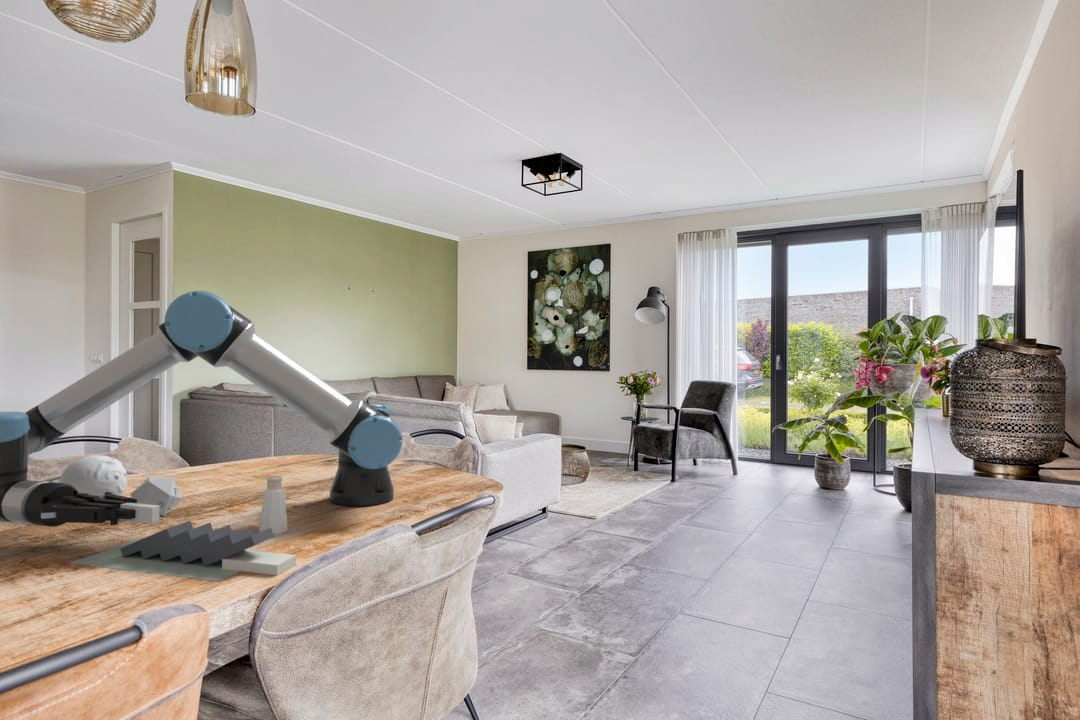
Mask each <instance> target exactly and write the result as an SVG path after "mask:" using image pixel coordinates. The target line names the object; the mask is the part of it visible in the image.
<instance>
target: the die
mask: <svg viewBox="0 0 1080 720" xmlns="http://www.w3.org/2000/svg"><path fill="white" fill-rule="evenodd" d="M130 496H131V498H133V499H137V503H138V504H149V505H160V512H159V517H165V516H166V515H167V514H168V513H169V512H170V511H171V510H172V509H174V507H175V506H176V505H177V504H178V503H179V502H180V501H181V500H182V499H183V496H182V494H181V492H180V490H179V488H178V485H177V483H176V481H175V478H174V476H172V477H170V476H169V477H168V476H165V477H164V476H149V477H147V478H146V480H144V481H143V482H142V483H141V484H139V486H137V488H136V489H134V490H133V491H132V492H131V493H130Z"/></svg>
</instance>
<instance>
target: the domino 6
mask: <svg viewBox="0 0 1080 720" xmlns="http://www.w3.org/2000/svg"><path fill="white" fill-rule="evenodd" d="M253 550H254V549H249V550H243V551H240V552H238V553H236V554H233V555H231V556H228V557H226V558H223V559H222V569H227V570H236V571H240V572H244V573H245V572H246V573H253V574H262V575H263V574H264V575H269V576H270V575H272V576H279V575H281V574H282V573H284V572H286V571H288V570H290V569H291V568H293V567H295V566H297V555H296V554H291V553H290V554H288V553H280V552H276V553H271V552H272V551H267V552H262V551H263V550H258V551H253Z"/></svg>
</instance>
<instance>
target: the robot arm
mask: <svg viewBox="0 0 1080 720" xmlns="http://www.w3.org/2000/svg"><path fill="white" fill-rule="evenodd" d="M197 357H199V358H201V359H202V360H204V361H205V362H206V363H208V364H210V365H211V366H213V367H214V368H223V367H228V368H229V369H231V370H232V371H234V372H236V374H238V375H240V376H242V377H243V378H244V379H246V380H248V381H249V382H250V383H252V384H253V385H255V386H257V387H258V388H259V389H261V390H262V391H264V392H265V393H267V394H268V395H270V396H271V397H273V398H274V399H276V400H277V401H279V402H280V403H282V404H283V405H285V406H286V407H288V408H289V409H291V410H292V411H294V412H295V413H296V414H298V415H299V416H301V417H303V418H304V419H305V420H307V421H309V422H310V423H311V424H313V425H315V426H316V427H318V428H319V429H320V430H322V431H324V432H325V434H326V438H327V442H328V443H329V444H330V445H331V446H332V447H335V448H336V449H338V455H337V456H338V461H337V470H336V473H335V475H334V478H333V481H332V484H331V486H330V490H329V501H330V502H331V503H333V504H337V505H341V506H354V507H355V506H357V507H358V506H373V505H379V504H384V503H385V504H386V503H387V502H390V501H392V500H393V499H394V496H395V495H394V494H395V489H394V486H393V485H394V484H393V480H392V478H391V475H390V471H389V468H388V467H389V465H390V464H392V463H393V462H394V461H395V460H396V459H397V457H398V456H399V454H400V453H401V450H402V447H403V435H402V430H401V429H400V427H399V425H398V423H397V422H396V421H395V420H394V419H393V418H390V416H391V415H390V409H389V407H388V405H386V404H369V403H367V402H366V401H364V400H363V399H361V398H359V399H353V400H352V399H350V398H349V397H347V396H346V395H344V394H342V393H341V392H340V391H338V390H337V389H336V388H334V387H333V386H331V385H329V384H328V383H327V382H325V380H322V378H320V377H318V376H317V375H316V374H314V373H312V372H311V371H309V370H308V369H307V368H306V367H305V366H303V365H302V364H301V363H298V362H297V361H295V360H294V359H292V357H290V356H289V355H287V354H286V353H284V352H283V351H282V350H280V349H278V348H277V347H276V346H274V345H273V344H271V343H270V342H268V340H266V339H264V338H263V337H261V336H260V335H259V334H257V332H256V330H255V323H254V322H253V321H251V320H250V319H249V318H248V317H246V316H245V315H243V314H242V313H241V312H239V311H238V310H236V309H234V308H233V307H232V306H230V305H229V304H228V303H227V302H226V300H224V299H223V298H222V297H221V296H218V295H216V294H215V293H213V292H209V291H206V290H205V291H204V290H194V291H189V292H185V293H183V294H180V295H179V296H178V297H176V298H175V299H174V300H173V301H172V302H170V304H169V305H168V308H167V309H166V312H165V316H164V322H163V323H160V325H158V326H157V327H156V332H155V333H154V334H153V335H151V336H149V337H147V338H145V340H143V341H141V342H140V343H137V344H136V345H134V346H133V347H131V348H129V349H128V350H126V351H125V352H123V353H121V354H118V356H116V357H114V358H113V359H111V360H110V361H107V362H106V363H104V364H103V365H102V366H100V367H98V368H96V369H95V370H94V371H93V370H92V372H89V373H88V374H86V375H85V376H83V377H82V378H80V379H78V380H77V381H75V382H74V383H71V384H70V385H69V386H67V387H65V388H64V389H62V390H60V391H59V392H57V393H55V394H54V395H52V396H50V397H49V398H47V399H45V400H44V401H42V402H40V403H39V404H37V405H36V406H34V407H32V408H30V409H29V410H27V411H25V412H23V411H0V522H6V523H7V522H8V523H15V524H25V526H26V527H30V528H31V527H32V526H34V525H35V526H40V527H50V528H54V527H59V526H62V525H64V524H66V523H68V524H69V523H70V524H71V523H73V524H75V523H78V524H104V523H106V521H110V526H116V525H118V524H119V521H122V522H123V521H124V522H134V523H144V524H155V523H158V522H160V516H159V512H160V505H149V504H138V503H137V499H133V498H132V496H131V497H129V496H124V495H122V496H119V495H114V494H112V493H111V492H106V493H104V494H103V495H101V497H100V496H95V495H88V494H87V493H78V491H77V490H76V489H75V488H74V487H73V486H71V485H69V484H65V483H59V482H52V481H44V480H42V481H41V480H31V479H30V480H29V479H28V469H29V468H28V466H29V456H30V455H31V454H34V453H37V452H40V451H42V450H44V449H46V448H48V447H49V446H51V445H52V443H53V442H54V441H56V440H58V439H59V438H61V437H62V436H64V435H65V434H67V433H69V432H70V431H71V430H73V429H75V428H76V427H78V426H79V425H80V426H81V424H83V423H85V422H86V421H87V420H89V419H91V418H92V417H94V416H95V415H97V414H99V413H100V412H102V411H104V410H105V409H107V408H108V407H110V406H111V405H113V404H115V403H117V402H118V401H120V400H121V399H122V398H123V399H124V397H125V396H128V395H129V394H131V393H132V392H134V391H135V390H137V389H138V388H139V389H140V388H141V387H142V386H144V385H145V384H147V383H148V382H150V381H151V380H153V379H155V378H156V377H158V376H159V375H161V374H163V373H164V372H166V371H167V370H169V369H171V368H172V367H174V366H175V365H177V364H178V363H180V362H181V363H189V362H191V361H193V360H194V359H196V358H197Z"/></svg>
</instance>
